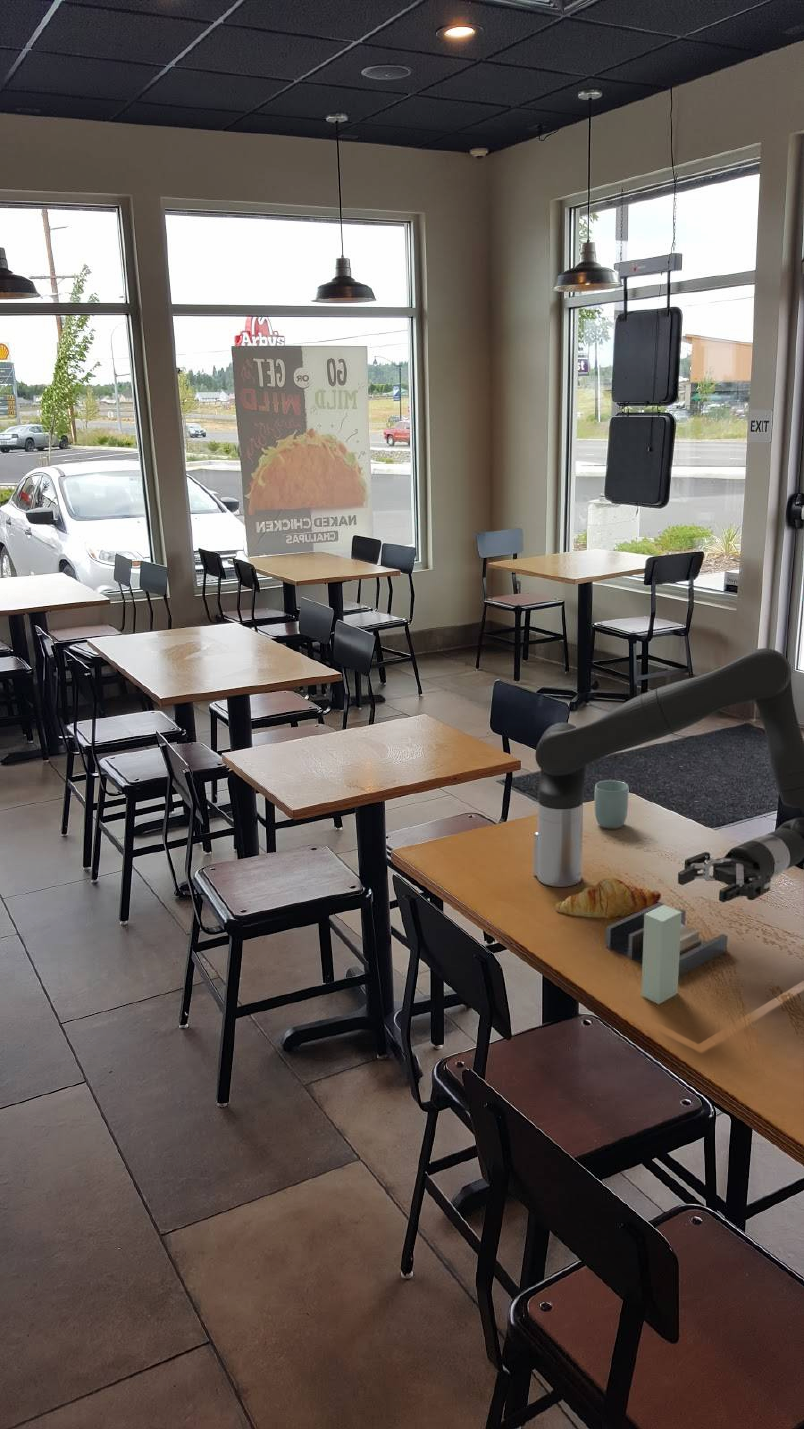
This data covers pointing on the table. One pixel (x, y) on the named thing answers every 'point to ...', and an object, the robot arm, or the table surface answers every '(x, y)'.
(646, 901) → the croissant
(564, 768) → the robot arm
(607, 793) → the cup
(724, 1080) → the table surface
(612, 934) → the rack
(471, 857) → the table surface
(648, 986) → the tall mint green block
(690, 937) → the offcut upper
